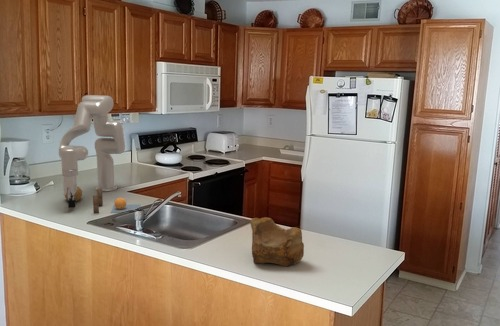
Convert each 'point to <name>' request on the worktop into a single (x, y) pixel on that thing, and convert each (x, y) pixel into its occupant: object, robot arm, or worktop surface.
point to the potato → (76, 194)
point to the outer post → (95, 204)
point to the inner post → (100, 197)
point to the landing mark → (127, 207)
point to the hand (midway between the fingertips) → (72, 207)
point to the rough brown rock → (275, 243)
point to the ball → (120, 203)
